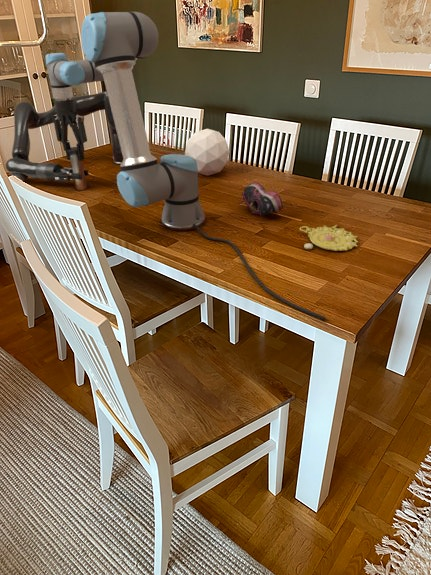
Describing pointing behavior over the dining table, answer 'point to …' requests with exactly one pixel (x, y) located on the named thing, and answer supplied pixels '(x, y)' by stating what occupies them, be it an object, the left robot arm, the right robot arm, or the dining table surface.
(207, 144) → the sphere
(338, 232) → the decorative object
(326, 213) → the dining table surface
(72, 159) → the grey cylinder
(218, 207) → the dining table surface
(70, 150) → the lid
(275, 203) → the athletic shoe
